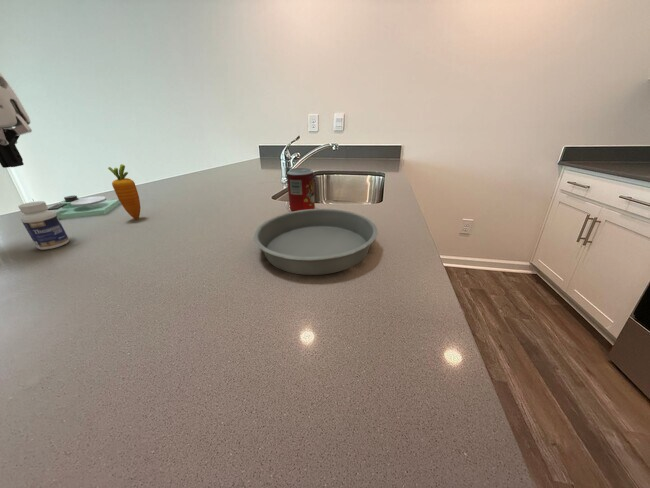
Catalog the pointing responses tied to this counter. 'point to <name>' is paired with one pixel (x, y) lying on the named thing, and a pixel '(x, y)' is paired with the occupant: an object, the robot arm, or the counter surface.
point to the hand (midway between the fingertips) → (13, 166)
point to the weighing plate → (88, 201)
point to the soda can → (301, 189)
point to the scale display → (57, 206)
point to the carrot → (126, 192)
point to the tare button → (70, 198)
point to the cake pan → (316, 240)
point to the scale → (85, 209)
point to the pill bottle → (43, 225)
